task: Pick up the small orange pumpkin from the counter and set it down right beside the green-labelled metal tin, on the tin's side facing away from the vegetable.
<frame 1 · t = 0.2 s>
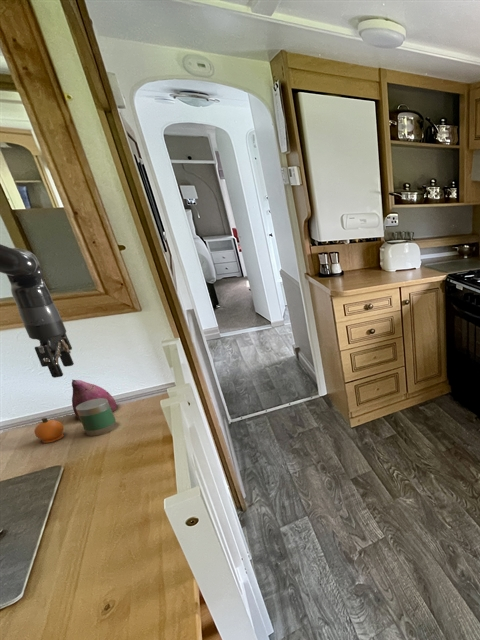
hand: (63, 371, 114), 18 cm above the table, tool pointing down, fingers open, 8 cm apart
pumpkin: (53, 438, 112), on the table
vegetable: (97, 412, 125), on the table
tin: (102, 429, 116), on the table
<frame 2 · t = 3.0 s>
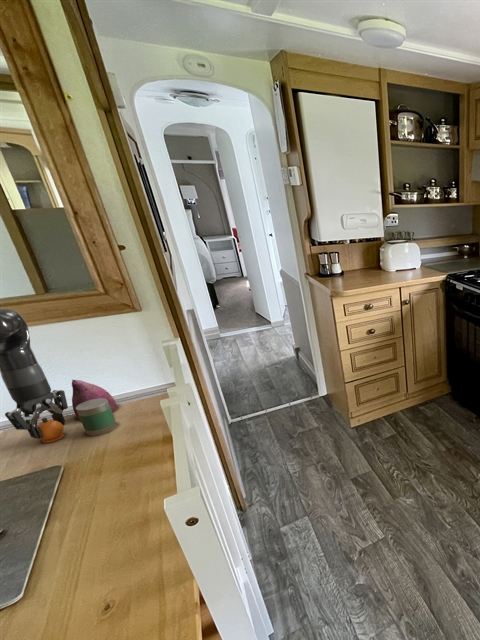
hand: (49, 431, 111), 2 cm above the table, tool pointing down, fingers closed on pumpkin, 5 cm apart
pumpkin: (53, 438, 112), on the table, touching gripper
everything else where it was.
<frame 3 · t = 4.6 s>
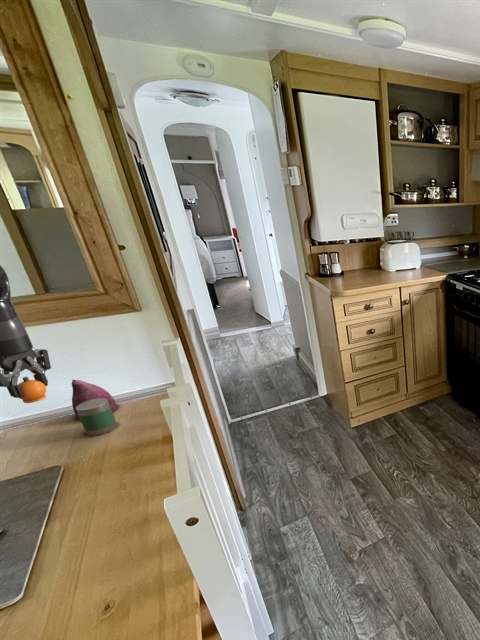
hand: (31, 391, 106), 16 cm above the table, tool pointing down, fingers closed on pumpkin, 5 cm apart
pumpkin: (34, 399, 107), point 13 cm above the table, touching gripper
everything else where it was.
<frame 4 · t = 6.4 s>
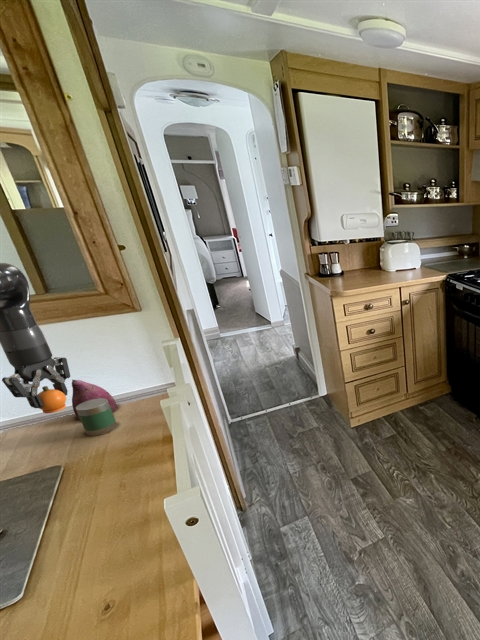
hand: (51, 401, 102), 15 cm above the table, tool pointing down, fingers closed on pumpkin, 5 cm apart
pumpkin: (54, 409, 103), point 13 cm above the table, touching gripper
everything else where it was.
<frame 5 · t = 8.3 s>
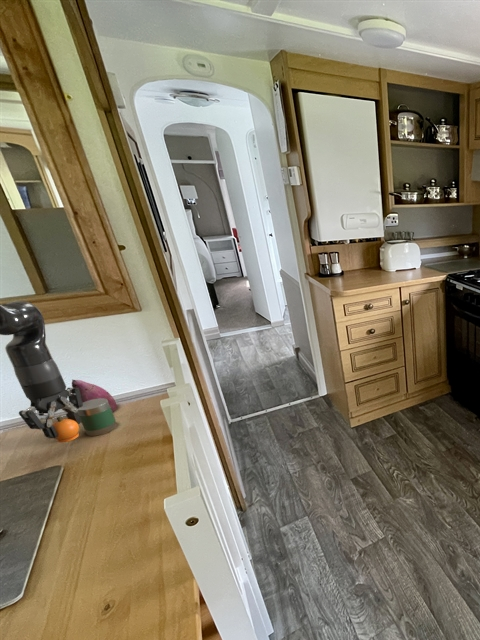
hand: (64, 430, 105), 6 cm above the table, tool pointing down, fingers closed on pumpkin, 5 cm apart
pumpkin: (68, 438, 106), point 3 cm above the table, touching gripper
everything else where it was.
when the fingers open (3 cm above the table, at t = 9.8 s): pumpkin stays where it is, on the table.
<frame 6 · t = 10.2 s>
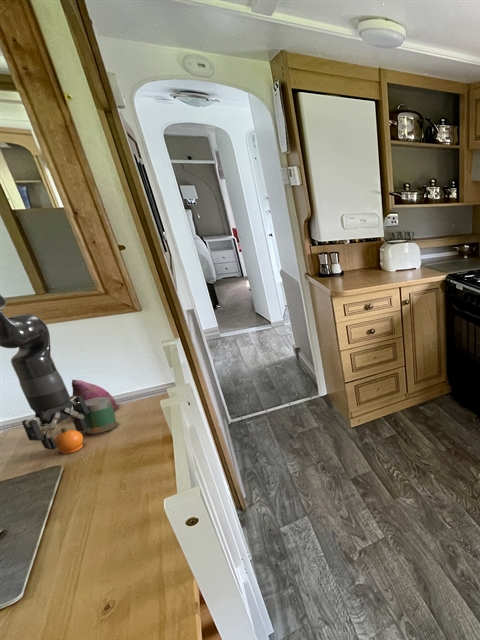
hand: (67, 439, 106), 3 cm above the table, tool pointing down, fingers open, 8 cm apart
pumpkin: (72, 448, 107), on the table
tin: (101, 428, 116), on the table, tilted 7°, touching gripper
everything else where it was.
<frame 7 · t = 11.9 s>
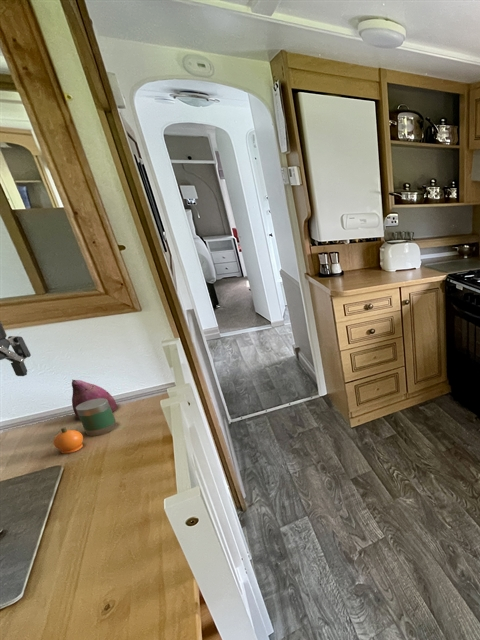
hand: (3, 382, 96), 23 cm above the table, tool pointing down, fingers open, 8 cm apart
tin: (102, 429, 116), on the table
everything else where it was.
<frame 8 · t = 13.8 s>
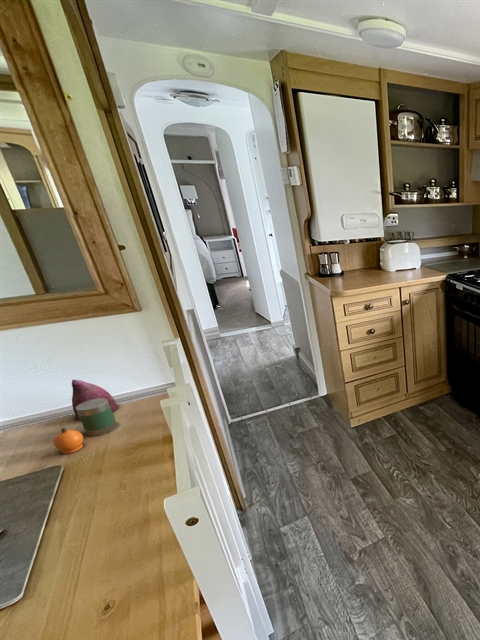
nothing on the table moved.
at the end: pumpkin 9.8 cm from the tin (horizontally); pumpkin inside the target area on the table beside the tin (0.4 cm from its centre), on the table; the gripper is holding nothing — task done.
